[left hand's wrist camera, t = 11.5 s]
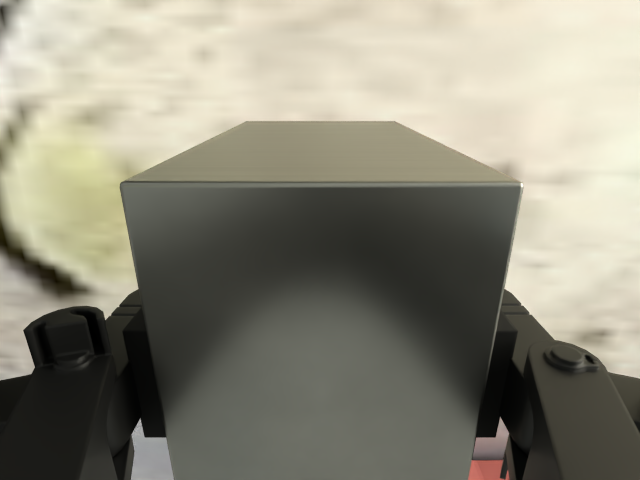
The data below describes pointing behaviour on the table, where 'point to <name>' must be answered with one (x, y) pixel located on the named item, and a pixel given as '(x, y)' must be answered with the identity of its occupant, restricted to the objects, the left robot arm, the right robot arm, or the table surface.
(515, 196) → the brick
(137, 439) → the table surface
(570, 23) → the table surface
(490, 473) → the plaque
